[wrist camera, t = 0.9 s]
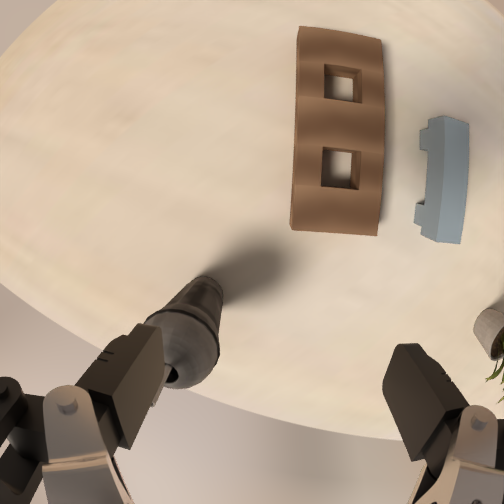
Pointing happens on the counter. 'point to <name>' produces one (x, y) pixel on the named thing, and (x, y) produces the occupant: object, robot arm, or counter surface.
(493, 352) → the house plant
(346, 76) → the brown wooden slab
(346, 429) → the counter surface
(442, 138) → the grey bridge block
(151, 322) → the beverage cup
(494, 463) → the robot arm
